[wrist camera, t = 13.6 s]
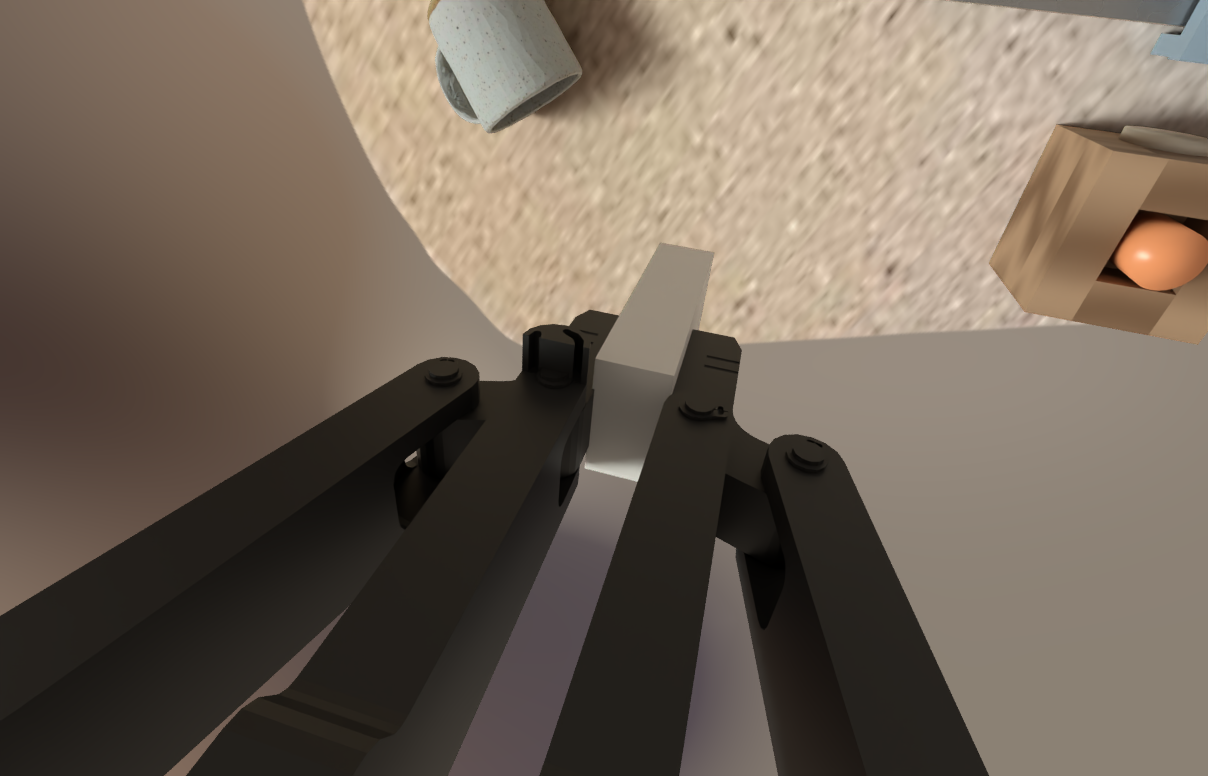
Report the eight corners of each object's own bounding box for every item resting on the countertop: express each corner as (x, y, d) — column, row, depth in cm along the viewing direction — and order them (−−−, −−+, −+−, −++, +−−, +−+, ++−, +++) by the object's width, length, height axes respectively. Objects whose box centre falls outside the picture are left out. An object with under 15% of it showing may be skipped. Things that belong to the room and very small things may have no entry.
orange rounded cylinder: (1125, 207, 33) (1154, 225, 30) (1191, 218, 32) (1226, 237, 29) (1093, 262, 34) (1117, 283, 32) (1154, 273, 34) (1184, 295, 31)
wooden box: (1061, 113, 36) (1120, 138, 29) (1231, 136, 34) (1332, 168, 28) (988, 263, 41) (1024, 312, 35) (1132, 288, 40) (1197, 344, 33)
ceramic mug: (531, -55, 39) (478, -64, 32) (598, 67, 41) (561, 80, 35) (423, 46, 44) (360, 54, 38) (489, 148, 46) (440, 171, 40)
